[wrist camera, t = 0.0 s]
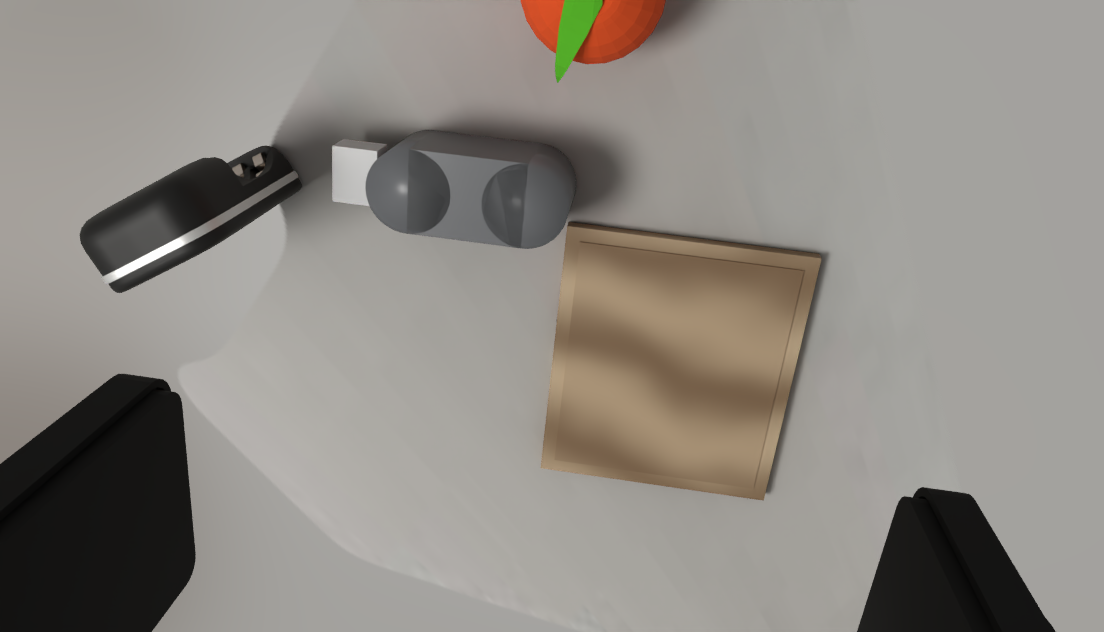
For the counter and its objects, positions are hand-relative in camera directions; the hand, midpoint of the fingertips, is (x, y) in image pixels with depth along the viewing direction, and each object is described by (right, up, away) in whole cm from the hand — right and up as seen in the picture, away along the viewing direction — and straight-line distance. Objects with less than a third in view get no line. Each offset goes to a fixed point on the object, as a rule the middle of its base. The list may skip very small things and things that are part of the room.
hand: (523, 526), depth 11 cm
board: (+7, 0, +39) cm, 40 cm away
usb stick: (-5, +11, +36) cm, 38 cm away
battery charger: (-17, +11, +38) cm, 43 cm away
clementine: (+3, +19, +32) cm, 37 cm away
